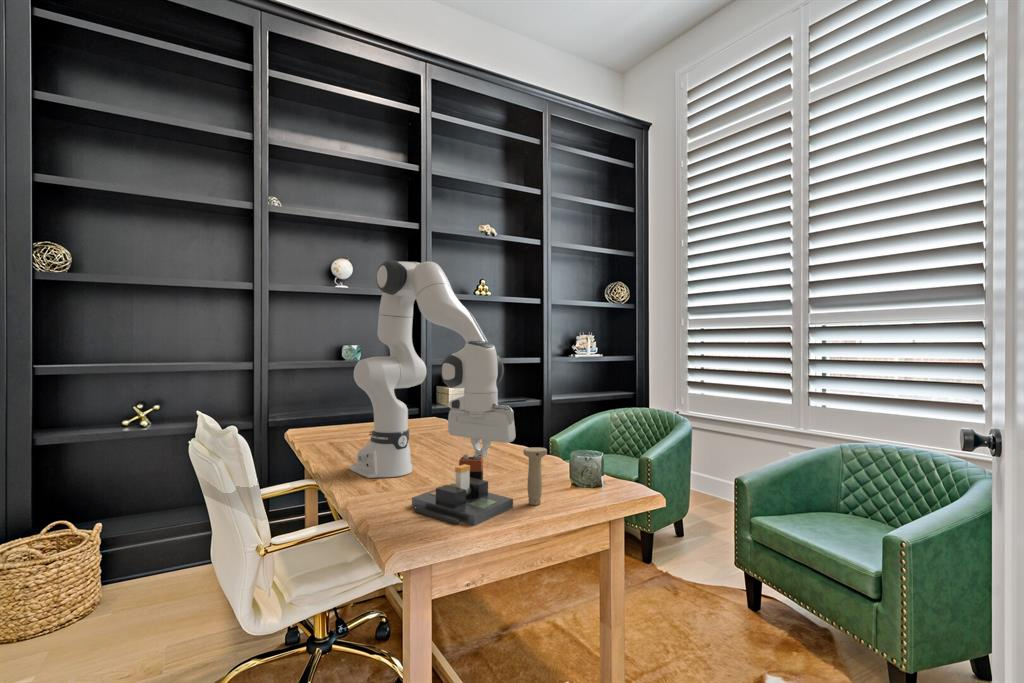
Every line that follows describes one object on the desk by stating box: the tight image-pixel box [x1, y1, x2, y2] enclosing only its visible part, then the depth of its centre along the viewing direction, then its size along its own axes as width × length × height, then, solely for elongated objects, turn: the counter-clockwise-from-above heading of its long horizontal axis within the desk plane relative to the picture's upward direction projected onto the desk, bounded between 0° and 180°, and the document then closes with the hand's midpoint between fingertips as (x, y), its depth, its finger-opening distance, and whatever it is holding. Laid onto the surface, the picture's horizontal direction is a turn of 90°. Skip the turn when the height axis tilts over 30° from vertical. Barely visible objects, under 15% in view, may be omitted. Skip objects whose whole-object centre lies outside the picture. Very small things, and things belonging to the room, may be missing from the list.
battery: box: [458, 454, 484, 480], centre depth 149 cm, size 4×7×10 cm, turn 86°
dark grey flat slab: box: [413, 507, 460, 525], centre depth 132 cm, size 15×21×1 cm
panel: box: [411, 477, 514, 526], centre depth 132 cm, size 22×16×6 cm
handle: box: [523, 446, 548, 506], centre depth 135 cm, size 5×6×15 cm
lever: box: [454, 464, 471, 496], centre depth 132 cm, size 2×4×8 cm, turn 144°
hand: (480, 456), depth 128 cm, fingers closed
